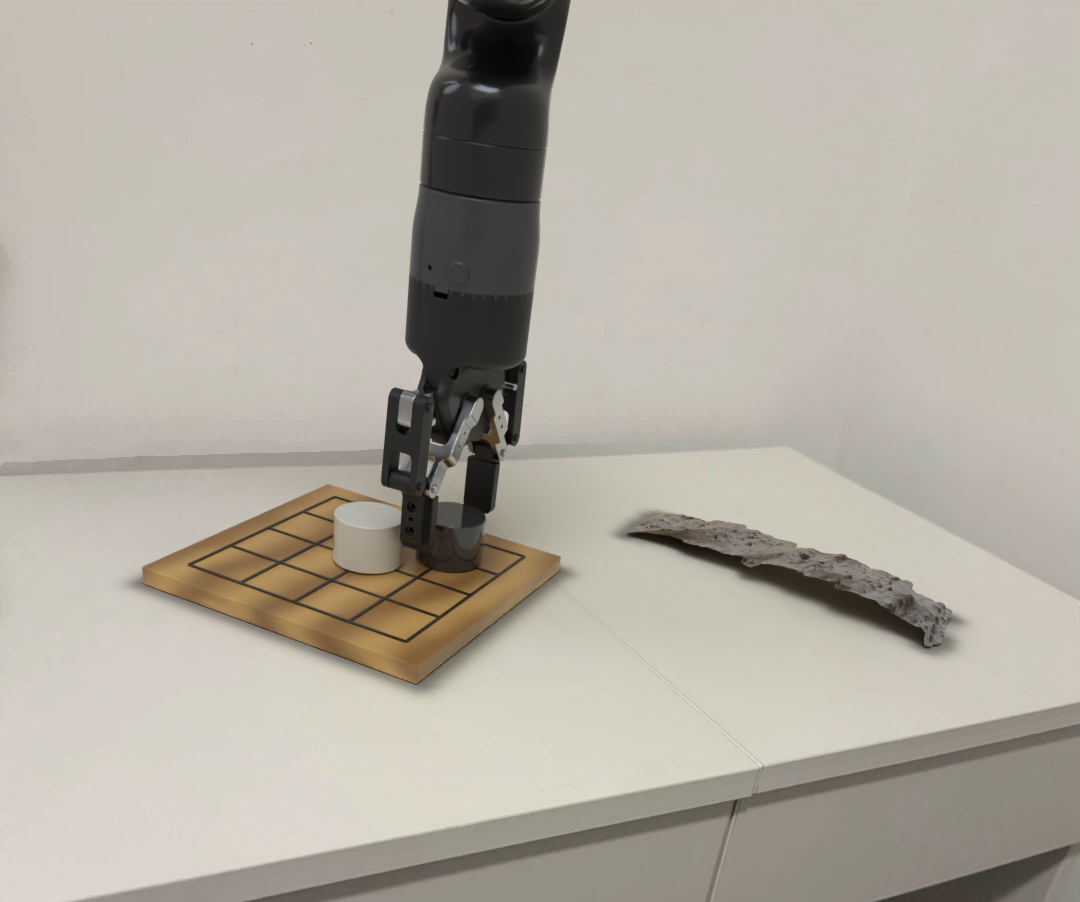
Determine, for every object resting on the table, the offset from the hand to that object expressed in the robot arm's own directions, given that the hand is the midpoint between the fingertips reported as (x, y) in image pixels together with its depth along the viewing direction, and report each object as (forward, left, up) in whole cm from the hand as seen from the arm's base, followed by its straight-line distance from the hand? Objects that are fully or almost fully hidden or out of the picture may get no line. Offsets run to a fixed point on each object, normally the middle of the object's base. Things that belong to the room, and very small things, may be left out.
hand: (448, 527), depth 72 cm
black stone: (0, 0, -2) cm, 2 cm away
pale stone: (-4, -4, -2) cm, 6 cm away
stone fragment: (+20, +17, -4) cm, 27 cm away
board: (-4, -4, -3) cm, 7 cm away
